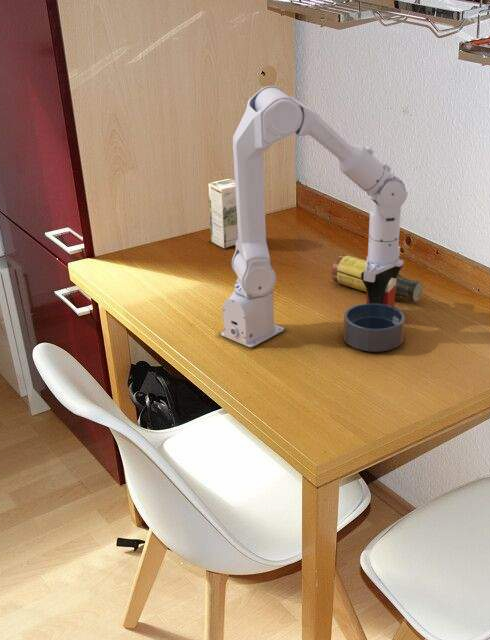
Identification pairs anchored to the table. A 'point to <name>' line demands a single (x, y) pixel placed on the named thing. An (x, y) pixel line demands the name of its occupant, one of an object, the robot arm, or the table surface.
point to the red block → (389, 293)
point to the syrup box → (223, 213)
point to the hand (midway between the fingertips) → (380, 302)
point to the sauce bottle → (350, 275)
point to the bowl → (373, 327)
